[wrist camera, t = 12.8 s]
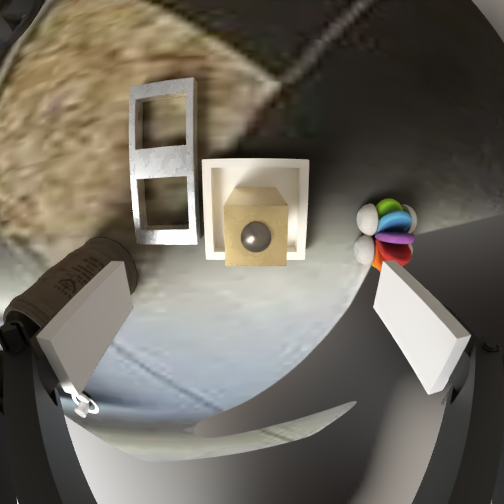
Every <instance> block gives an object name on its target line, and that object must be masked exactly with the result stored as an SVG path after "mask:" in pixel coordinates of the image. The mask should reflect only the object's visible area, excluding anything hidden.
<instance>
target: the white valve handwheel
mask: <svg viewBox="0 0 504 504" xmlns="http://www.w3.org/2000/svg"><path fill="white" fill-rule="evenodd" d="M76 396H77V395H73V394H72V398H73V400H74V401H75V402H76V404H77V407H76V409H75V412H76V413H77V414H78V415H80V416H81V417H86V415H87V413H88V412H90V413H98V412H99V408H98V406H97V405H96V403H95V402H94V401H93V400H91V399H90V398H89V397H87V396H86V395H84V394H83V393H81V395H80V396H77V398H78V399H79V400H81V402H80V403H78V402H77V400H76ZM90 401H91V402H92V403H93V404H94V406H95V410H89V402H90Z"/></svg>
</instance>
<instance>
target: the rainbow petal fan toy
mask: <svg viewBox="0 0 504 504" xmlns="http://www.w3.org/2000/svg"><path fill="white" fill-rule="evenodd" d="M357 225H358V227H359V229H360V230H361V231H362V232H363V233H364V234H365V235H363V236H361V237H359V238H358V239H357V241H356V242H355V245H354V255H355V257H356V259H357V260H358V261H359V262H360V263H362V264H364V265H370V264H372V266H374V267H375V268H377V269H378V270H379V271H380V272H381V269H382V263H383V261H396V262H397V263H398V264H399V265H401V266H402V267H403V265H405V264H407V263H408V262H409V261H410V259H411V257H412V252H413V248H412V244H411V243H413V242H414V240H415V237H414V235H413V234H410V233H411V232H413V230H414V229H415V227H416V225H417V216H416V213H415V211H414V210H413V209H412V208H411V207H410V206H408V205H400V204H399V203H398V202H397V201H396V200H394V199H384V200H382V201H380V202H379V203H378V204H377V205H376V207H375V206H374V205H373V204H366V205H364V206H363V207H362V208H361V209H360V210H359V211H358V214H357ZM374 234H375V237H373V238H372V237H371V236H372V235H374Z"/></svg>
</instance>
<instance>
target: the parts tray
mask: <svg viewBox="0 0 504 504" xmlns="http://www.w3.org/2000/svg"><path fill="white" fill-rule="evenodd" d="M202 182H203V210H204V231H205V249H206V260H225V240H224V204H225V202H226V201H227V199H228V197H229V196H230V194H231V192H232V191H233V189H234V187H273V188H277V189H278V191H279V192H280V194H281V195H282V197H283V198H284V200H285V201H286V203H287V204H288V206H289V210H288V238H287V260H305V246H306V230H307V211H308V187H309V160H306V159H280V158H225V159H203V160H202Z"/></svg>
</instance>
